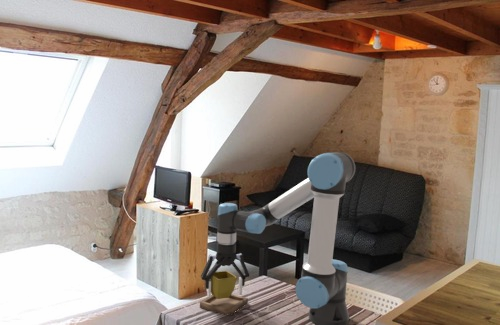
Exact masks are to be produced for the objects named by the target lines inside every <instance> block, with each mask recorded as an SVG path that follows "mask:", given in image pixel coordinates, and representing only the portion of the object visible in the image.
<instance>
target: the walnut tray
mask: <svg viewBox="0 0 500 325" xmlns="http://www.w3.org/2000/svg"><path fill="white" fill-rule="evenodd" d="M247 303H249V298H248V297H244V296H242V295H235V294H233V293H232V294H231V295H230V297H229V298H222V299H217V298H216V297H214V296H213V295H212V294H211V297H210V298H209V297H208V296H207V297H206V298H204V299H203V300H201V301H200V302H199V308H201V309H204V310H208V311H211V312H215V311H216V312H215V313H218V312H219V314H222V313H223V314H222V315H226V314H228V315H227V316H229V315H231V314H232V315H234V314H235V313H236V312H238V311H239V310H241V309H242V308H243V307H245V306H246V305H247ZM244 305H245V306H244ZM240 308H241V309H240ZM238 309H239V310H238ZM237 310H238V311H237ZM235 311H236V312H235ZM234 312H235V313H234ZM233 313H234V314H233ZM232 315H231V316H232Z"/></svg>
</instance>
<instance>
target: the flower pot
mask: <svg viewBox="0 0 500 325" xmlns="http://www.w3.org/2000/svg"><path fill="white" fill-rule="evenodd" d="M209 272H210V271H208V273H209ZM208 273H207V274H208ZM237 278H238V277H237V276H236V275H234V274H233V273H231V272H229V271H227V270H221V271H216V272H215V274H214V275H213V276H212V277H211V279H210V280H211V295H213V296H214V297H216V298H217V299H222V298H229V297H230V295H231V294H233V293H234V290H235V287H236V283H237Z"/></svg>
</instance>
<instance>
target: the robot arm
mask: <svg viewBox="0 0 500 325" xmlns="http://www.w3.org/2000/svg"><path fill="white" fill-rule="evenodd" d="M355 173H356V164H355V161H354V159H353V157H351V155H350V154H348V153H346V152H343V151H335V152H325V153H321V154H319V155H317V156H315V157H314V158H312V159H311V161H310V163H309V165H308V166H307V178H306V179H304V180H302V181H301V182H299V183H298V184H297V185H295V186H292V187H291V188H289V190H287V191H285V192H284V193H282V194H281V195H279V196H278V197H277V198H275V199H273V200H272V201H271V202H269V203H267V204H266V205H264V206H263V207H260V208H258V209H255V210H251V211H243V210H238V209H239V208H238V205H237V204H236V203H232V202H224V203H220V204H219V205H218V208H217V209H218V211H217V233H216V234H217V236H216V241H217V243H216V254H215V255H212V254H208V256H207V257H208V258H207V259H208V260H207V261H206V264H205V267H204V268H203V271H202V272H201V275H200V278H201V280H203V281H204V287H205V289H206V291H207V292H206V293H207V298H208V297H209V298H210V297H211V295H212V293H211V280H210V279H211V277H212V276H213V275H214V274H215V272H218V271H217V270H218V269H220V268H221V266H222V267H226V266H228V267H230V266H233V267H232V268H234V269H235V271H236V272H237V273H238V274H239V276H238V289H237V290H238V292H237V294H238V295H239V296H242V295H243V287H245V285H246V284H245V280H246V279H247V278H249V277H250V273H249V270H248V268H247V266H246V263H245V261H244V260H245V259H244V254H242V253H241V252H239V253H237V254H236V252H237V243H236V242H237V231H239V232H240V231H241V232H246V233H250V234H257V235H258V234H259V235H260V234H262V233H263V232H264V230H265V228H266V227H268V226H272V225H273V224H275V223H277V221H279V220H280V219H282V218H283V217H285V216H286V215H288V214H290V213H291V212H293V211H294V210H296V209H297V208H299V207H301V206H302V205H304V204H305V203H307V202H309V201H311V200H313V207H312V214H311V225H310V232H309V233H310V235H309V243H308V252H307V261H306V262H304V263H303V264H302V267H301V277H300V278H299V279H297V282H296V284H295V288H294V289H295V294H296V295H295V296H296V298H297V299H298V300H299V301H300V302H301V304H303V305H304V306H305V307H307V308H309V310H308V318H309V321H310V322H311V323H313V324H315V325H348V324H349V322H350V314H349V309H348V306H347V302H346V296H347V295H346V294H347V284H348V283H347V281H348V280H347V279H348V264H347V263H345V262H344V261H342V260H338V259H333V257H334V251H335V250H334V249H335V240H336V231H337V223H338V212H339V205H340V204H339V203H340V198H341V197H343V196H344V195H345V193H346V183H348V182H350V181H351V180H352V178H354V175H355ZM215 259H216V262H215V263H214V265H213V262H214V261H215ZM236 259H238V261H239V262H240V264H241V265H240V266H241V268H242V271H243V272H242V271H241V269H240V268H239V267H238V265H237V264H236V262H235V261H236ZM212 265H213V267H212ZM211 267H212V268H211ZM208 272H209V273H208Z"/></svg>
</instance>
